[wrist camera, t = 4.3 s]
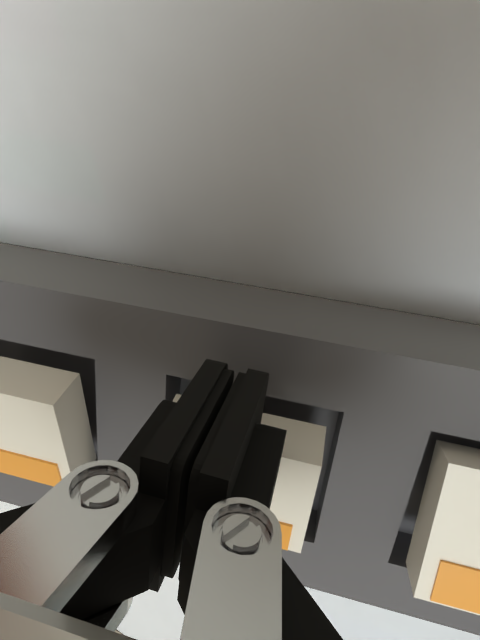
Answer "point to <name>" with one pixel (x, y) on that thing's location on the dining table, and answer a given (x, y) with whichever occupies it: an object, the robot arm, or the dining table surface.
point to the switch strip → (281, 396)
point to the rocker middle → (295, 476)
